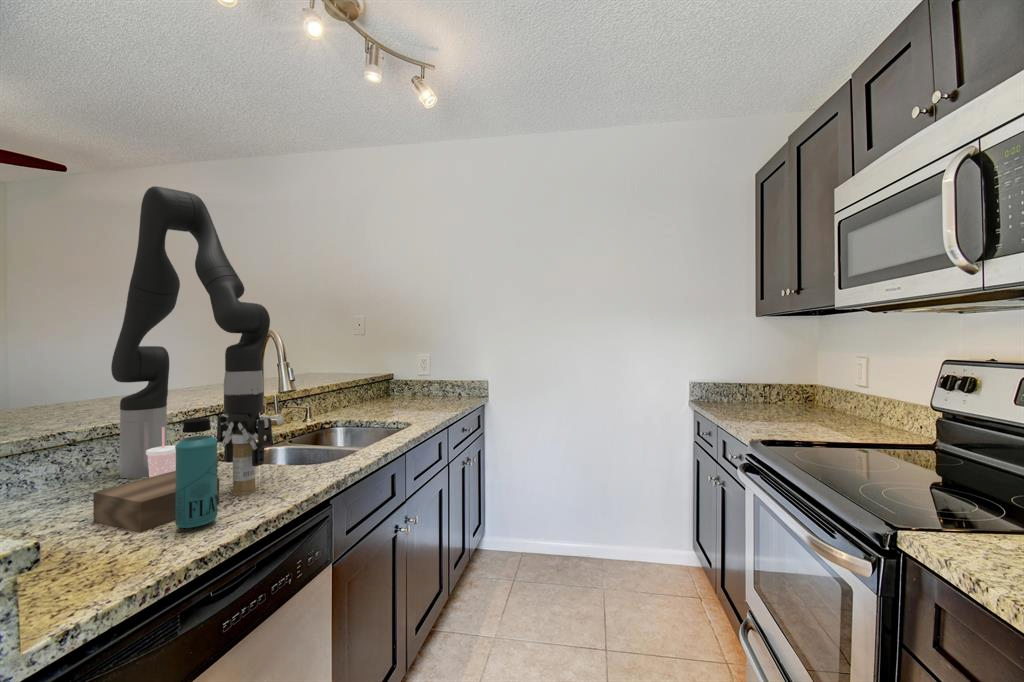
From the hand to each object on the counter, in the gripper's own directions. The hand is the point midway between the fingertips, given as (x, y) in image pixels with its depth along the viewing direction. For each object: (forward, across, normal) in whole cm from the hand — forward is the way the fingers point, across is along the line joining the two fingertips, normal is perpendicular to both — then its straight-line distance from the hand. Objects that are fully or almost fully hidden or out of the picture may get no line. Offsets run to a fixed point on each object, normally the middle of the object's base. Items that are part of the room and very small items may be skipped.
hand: (244, 463), depth 95 cm
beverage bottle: (+7, +9, -16) cm, 19 cm away
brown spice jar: (+7, 0, 0) cm, 7 cm away
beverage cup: (+7, -21, -4) cm, 23 cm away
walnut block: (+7, -5, -14) cm, 16 cm away
